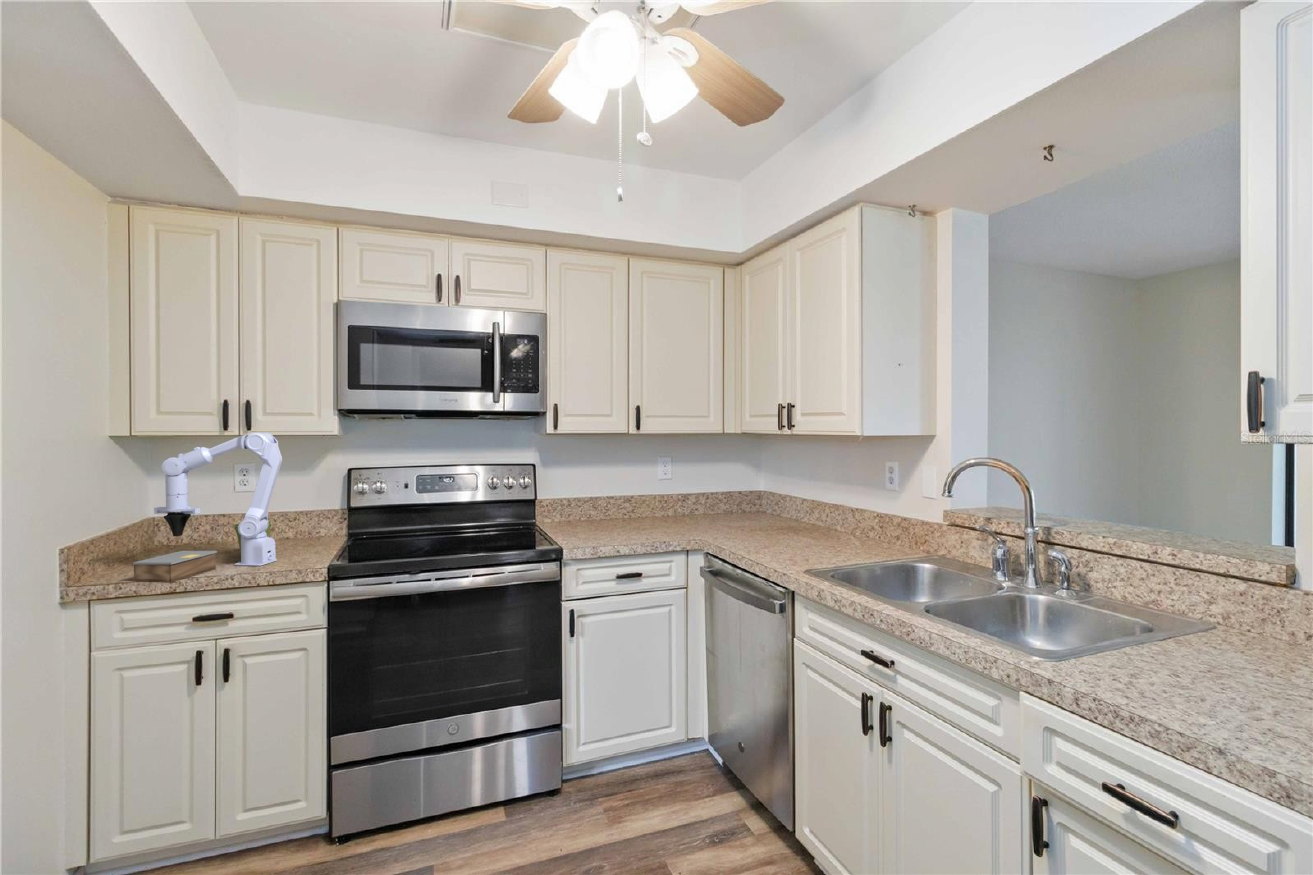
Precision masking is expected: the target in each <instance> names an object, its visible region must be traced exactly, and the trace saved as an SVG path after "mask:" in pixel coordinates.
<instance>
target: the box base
mask: <svg viewBox="0 0 1313 875" xmlns="http://www.w3.org/2000/svg"><path fill="white" fill-rule="evenodd" d="M216 563H217V562H216V553H214V554H210V555H206V556H202V557H199V558H195V559H191V560H187V561H183V562H179V563H176V564H172V565H133V581H134V582H138V583H139V582H144V583H145V582H146V583H174V582H176V581H180V580H184V579H187V578H190V577H194V576H197V575H201V574H204V572H205V573H207V572H211V570H212V571H215V570H216V568H217V567H216V565H217V564H216Z"/></svg>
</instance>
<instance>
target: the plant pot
mask: <svg viewBox="0 0 1313 875" xmlns="http://www.w3.org/2000/svg"><path fill="white" fill-rule="evenodd" d="M240 523H241V522H238V523H236V524H233V525H232V526H233V528H234V530H235V534H236V536H237V537H236V538H237V542H238V546H239V553H240V554H241V535H240V534H239V532H238V526H239V524H240ZM272 524H273V521H268V528H267V529H266V530H265V532H266V534H267V535H266V536H267V537H269V534H270V531H271V526H272Z"/></svg>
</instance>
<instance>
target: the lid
mask: <svg viewBox="0 0 1313 875" xmlns="http://www.w3.org/2000/svg"><path fill="white" fill-rule="evenodd" d="M217 553H218V550H180V551H174V552H171V553H167V554H162V555H159V556H155V557H150V558H146V559H142V560H137V561H134V562H132V565H133V566H134V565H172V564H176V563H179V562H183V561H187V560H191V559H195V558H199V557H202V556H206V555H210V554H217Z"/></svg>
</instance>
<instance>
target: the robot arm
mask: <svg viewBox="0 0 1313 875" xmlns="http://www.w3.org/2000/svg"><path fill="white" fill-rule="evenodd" d="M239 449H240V450H249V451H250V452H252V453H253V454H255V455H256V456H257V457H258V458H259V459H260V460H261V462H262V466H261V469H260V473H259V476H258V479H257V483H256V485H255V489H254V493H253V494H252V500H251V501H250V505H249V509H248V510H247V511H246V513H245V514H244V517H243V519H242V520H241V521H240V522H239V523H240V524H239V523H238V524H239V526H238V532H239V534H240V535H241V553H240V561H239V562H237V563H234V565H233V566H258V567H261V566H264V565H267V564H270V563H274V562H277V561H278V558H276V557H277V556H276V540H275V539H274V538H273V537H269V536H268V537H267V536H266V535H267V534H266V532H265V530H266V529H267V528H268V522H269V518H268V517H269V511H268V509H269V505H270V503H271V499H272V495H273V493H274V488H275V485H276V484H277V479H278V475H279V472H280V468H281V466H282V462H283V457H282V454H281V453H282V452H281V451H280V448H279V441H278V440H277V439H276V437H274V435H273V434H272V433H270V432H267V431H266V432H265V431H264V432H263V431H262V432H251V433H249V434H244V435H241V436H237V437H235V438H232V439H230V440H227V441H224V442H223V443H220V444H218V445H215V446H213V447H211V448H208V447H205V446H202V447H200V446H196V447H194V448H193V450H191V451H188V452H186V453H179V454H177V457H169V458H168V459H165V460H164V461H163V462H162V463H161V464H162V465H161V470H162V472H163V473H164V474H165V476H164V477H165V506H160V507H159V506H157V507H154V509H153V510H154V512H153V513H154V514H155V515H158V514H164V515H163V518H164V520H165V521H166V523H167V524H168V526H169V528H170V531H171V533H172V536H173V537H180V536H183V533H184V530H185V527H186V525H187V523H188V521H189V519H190V518H191V517H192V516H191V515H198V514H201V507H195V506H191V505H189V479H188V478H189V476H188V473H190V472H191V471H193V470H196V469H199V468H202V467H204V466H206V465H207V466H208V465H209V464H212V463H213V461H214V459H215V458H216V457H219V456H222V455H225V454H227V453H230V452H233V451H237V450H239ZM165 514H166V515H165Z"/></svg>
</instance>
